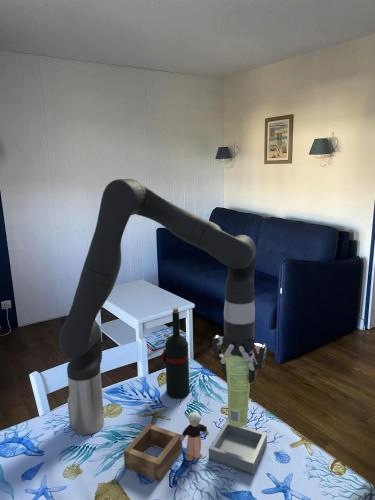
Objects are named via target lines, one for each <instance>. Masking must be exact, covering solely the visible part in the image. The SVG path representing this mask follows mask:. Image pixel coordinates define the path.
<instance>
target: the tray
mask: <svg viewBox="0 0 375 500" xmlns="http://www.w3.org/2000/svg"><path fill="white" fill-rule="evenodd" d="M267 445H268V432H267V433H266V432H264V431H260V430H257V429H253V428H250V427H247V426H243V427H234V426H232V425H230V424H229V422H228V420H227V421H224V422H223V425H222V427H221V428H220V429H219V431H218V433H217V434H216V436H215V438H214V440H213V441H212V443H210V446H209V447H208V461H210V462H214V463H215V464H219V465H222V466H225V467H228V468H231V469H233V470H236V471H238V472H241V473H244V474H247V475H249V476H252V477H253V476H254V475H255V473H256V471H257V468H258V466H259V464H260V461H261V459H262V456H263V455H264V452H265V450H266V447H267Z"/></svg>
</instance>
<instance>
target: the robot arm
mask: <svg viewBox="0 0 375 500" xmlns="http://www.w3.org/2000/svg"><path fill="white" fill-rule="evenodd" d="M134 215H136V216H140V217H143V218H147V219H150V220H152V221H154V222H155V223H158V224H159V225H161V226H163V227H164V228H165V229H166V230H168V231H169V232H170V233H172V234H173V235H174V236H176V237H177V238H178V239H181V240H182V241H184V242H185V243H187V244H190V245H191V246H193V247H196V248H198V249H200V250H202V251H205V252H206V253H208V254H209V256H211V257H212V258H214V259H216V260H217V261H219V262H220V263H221V264H223V265H224V266H227V277H226V279H225V282H224V307H223V336H220V334H216V335H215V336H214V337H213V338H212V339H211V342H212V350H213V351H212V352H213V358H214V360H216V361H219V362H220V363H221V374H222V375H223V377H225V378H227V372H226V362H225V357H226V358H228V357H229V355H230V353H231V354H232V355H234V356H239V357H243V358H244V359H245V361H246V363H248V366H249V368H250V370H249V383H250V384H254V383H253V382H255V381H256V379H257V378H258V377H257V375H258V371H260V370H262V369H263V367H264V366H265V362H266V358H267V357H266V356H267V349H268V345H267V344H266V343H262V344H261V343H257V342H256V339H255V329H256V328H255V323H256V322H255V321H256V319H255V318H256V317H255V316H256V307H255V273H256V272H255V271H256V260H257V246H256V243H255V242H254V240H253V239H252V238H251V237H250V236H248V235H245V234H238V235H236V236H233V235H231V234H229V233H227V232H225V231H223V230H222V229H221V227H220V225H218V224H216V223H215V222H212V221H210V220H208V219H206V218H204V217H202V216H199V215H198V214H196V213H194V212H191V211H189V210H186V209H184V208H183V207H180V206H178V205H177V204H174V203H172V202H170V201H169V200H167V199H165V198H164V197H162V196H161V195H159V194H158V193H155V191H153V190H151V189H150V188H149V187H147V186H145V184H143V183H141V182H140V181H138V180H137V179H133V178H118V179H113V180H112V181H110V182H109V183H107V185H106V187H104V190H103V192H102V194H101V201H100V205H99V210H98V216H97V221H96V226H95V230H94V232H93V235H92V238H91V241H90V245H89V248H88V252H87V255H86V258H85V260H84V263H83V266H82V270H81V273H80V276H79V277H80V278H79V279H78V284H77V287H76V290H75V293H74V296H73V297H74V298H73V300H72V304H71V307H70V310H69V312H68V314H67V317H66V319H65V321H64V323H63V326H62V328H61V329H60V332H59V335H58V347H59V348H60V351H61V353H62V354H63V355H64V356H65V357H67V358H69V362H68V363H67V367H66V373H67V375H66V376H67V382H68V393H69V394H68V397H67V399H66V400H67V410H68V420H69V427H71V428H72V431H73V432H74V433H75V434H77V435H80V436H88V435H92V434H95V433H97V432H98V431H100V430H101V429H102V428H103V426H104V425H105V415H104V402H103V401H104V400H103V399H104V398H103V387H102V385H103V384H102V376H101V375H102V374H101V363H102V360H103V343H102V337H103V336H102V330H101V327H100V324H99V323H98V322H97V320H96V318H97V316H98V314H99V312H100V311H101V309H102V308H103V306H104V305H105V303H106V302H107V299H108V298H109V296H110V295H111V293H112V291H113V289H114V288H115V287H114V286H115V284H116V283H117V278H118V276H119V273H120V270H121V266H122V240H123V236H124V232H125V230H126V227H127V226H128V225H127V224H128V222H129V220H130V218H131V217H132V216H134ZM222 344H224V346H225V349H226V350H225V352H224V354H223V351H222ZM254 349H256V352H257V353H256V354H258V357H257V360H256V358H255V353H254V351H253V350H254ZM248 354H249V355H248Z"/></svg>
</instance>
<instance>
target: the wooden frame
mask: <svg viewBox="0 0 375 500" xmlns="http://www.w3.org/2000/svg"><path fill="white" fill-rule="evenodd" d="M181 436H182V434H181V433H177V432H175V431H171V430H169V429H166V428H162V427H160V426H157V425H154V424H150V423H148V424H146V426H145V427H144V428H143V429H142V430H141V431H140V432H139V433H138V434H137V436H136V437H134V439H133V440H132V441H131V442H130V443H129V444H128V445H127V446H126V448H125V449H124V450H123V462H124V463H123V465H124V468H125V469H127V470H130V471H132V472H134V473H137V474H139V475H141V476H144V477H146V478H149V479H151V480H154V481H156V482H159V483H160V482H161V481H162V480H163V478H164V477H165V475H166V474H167V473H168V471H170V468H171V467H172V466H173V464H174V463H175V462H176V460H177V459H178V458H179V457H180V455H181V453H182V452H183V441H181V440H180V438H181ZM151 445H152V446H155V447H157V448H160V449H162V452H160V454H159V456H157V457H155V456H153V455H150V454H147V453H145V452H146V451H147V450H148V448H149V447H150V446H151Z"/></svg>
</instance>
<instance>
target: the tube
mask: <svg viewBox="0 0 375 500" xmlns="http://www.w3.org/2000/svg"><path fill="white" fill-rule="evenodd" d="M248 355H249V354H248ZM225 362H226V372H227V377H226V382H227V387H226V388H227V422H229V424H230V425H232V426H234V427H243V426H244V427H246V426H247V424H248V416H249V415H248V412H249V399H250V388H251V383H249V370H250V368H249V366H248V363H246V361H245V359H244V358H243V357H239V356H234V355H232V354H231V353H230V355H229V357H228V358H226V357H225Z"/></svg>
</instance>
